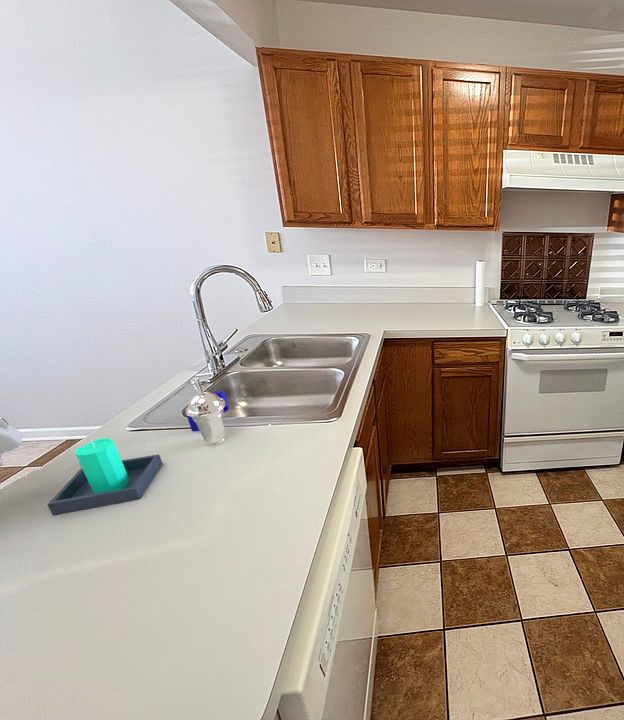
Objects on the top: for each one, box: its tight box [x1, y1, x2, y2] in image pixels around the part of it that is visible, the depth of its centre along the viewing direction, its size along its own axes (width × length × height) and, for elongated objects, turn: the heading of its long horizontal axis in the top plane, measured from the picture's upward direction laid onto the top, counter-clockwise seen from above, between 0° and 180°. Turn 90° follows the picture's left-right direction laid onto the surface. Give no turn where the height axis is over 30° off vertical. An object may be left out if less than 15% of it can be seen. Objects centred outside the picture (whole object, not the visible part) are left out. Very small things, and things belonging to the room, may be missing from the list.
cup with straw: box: [185, 371, 227, 447], centre depth 99 cm, size 8×9×20 cm
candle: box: [74, 437, 130, 494], centre depth 84 cm, size 6×6×12 cm
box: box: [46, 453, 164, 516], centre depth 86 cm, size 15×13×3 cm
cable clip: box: [186, 390, 230, 432], centre depth 112 cm, size 12×4×6 cm, turn 179°
